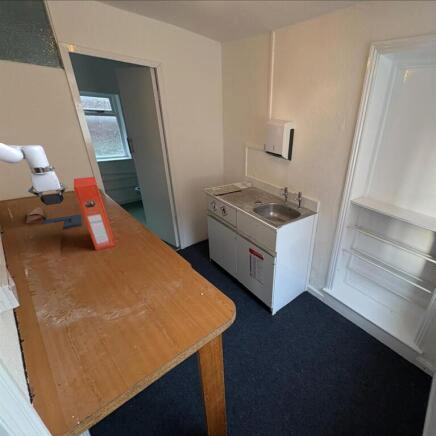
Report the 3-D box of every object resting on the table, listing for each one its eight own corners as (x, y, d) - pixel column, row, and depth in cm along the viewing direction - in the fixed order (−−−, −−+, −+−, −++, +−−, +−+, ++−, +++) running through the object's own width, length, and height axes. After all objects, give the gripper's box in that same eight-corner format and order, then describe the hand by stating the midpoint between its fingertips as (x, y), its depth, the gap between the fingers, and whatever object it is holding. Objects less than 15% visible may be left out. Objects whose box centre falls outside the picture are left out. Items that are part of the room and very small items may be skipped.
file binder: (95, 250, 112) (73, 187, 100) (93, 236, 124) (73, 178, 111) (115, 245, 117) (97, 184, 104) (112, 232, 129) (95, 176, 116)
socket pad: (42, 233, 125) (41, 230, 125) (45, 222, 137) (44, 219, 136) (81, 225, 135) (80, 223, 134) (81, 216, 146) (80, 214, 145)
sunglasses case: (24, 214, 144) (29, 204, 144) (41, 217, 149) (45, 207, 149) (26, 224, 133) (30, 213, 133) (43, 226, 138) (47, 216, 138)
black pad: (45, 205, 125) (43, 198, 123) (47, 202, 129) (44, 195, 128) (61, 203, 129) (58, 196, 127) (61, 200, 133) (59, 193, 131)
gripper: (63, 166, 129) (74, 197, 136) (18, 170, 119) (32, 202, 126) (62, 169, 124) (74, 201, 131) (15, 173, 114) (30, 207, 121)
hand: (53, 201), depth 129 cm, fingers closed on black pad, 6 cm apart
